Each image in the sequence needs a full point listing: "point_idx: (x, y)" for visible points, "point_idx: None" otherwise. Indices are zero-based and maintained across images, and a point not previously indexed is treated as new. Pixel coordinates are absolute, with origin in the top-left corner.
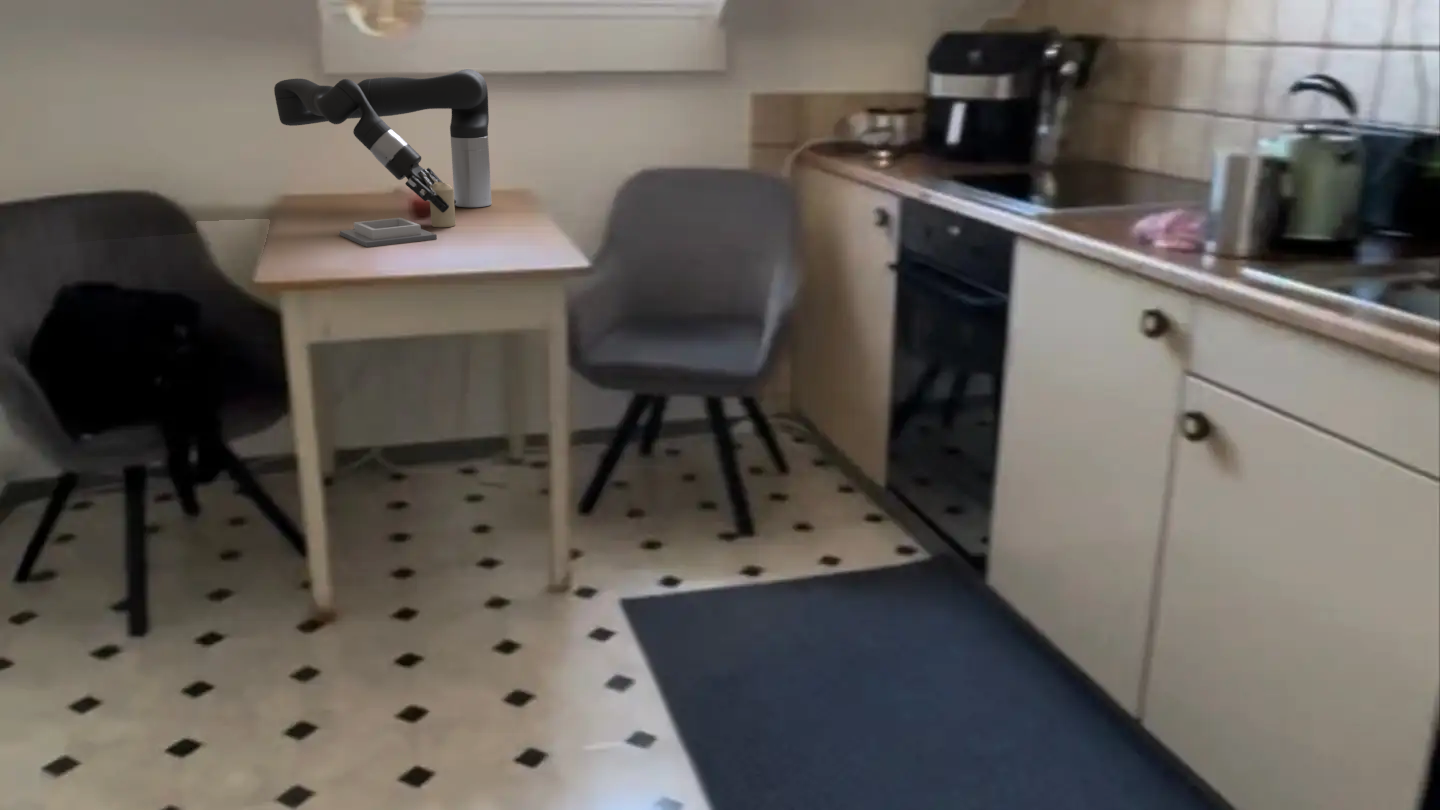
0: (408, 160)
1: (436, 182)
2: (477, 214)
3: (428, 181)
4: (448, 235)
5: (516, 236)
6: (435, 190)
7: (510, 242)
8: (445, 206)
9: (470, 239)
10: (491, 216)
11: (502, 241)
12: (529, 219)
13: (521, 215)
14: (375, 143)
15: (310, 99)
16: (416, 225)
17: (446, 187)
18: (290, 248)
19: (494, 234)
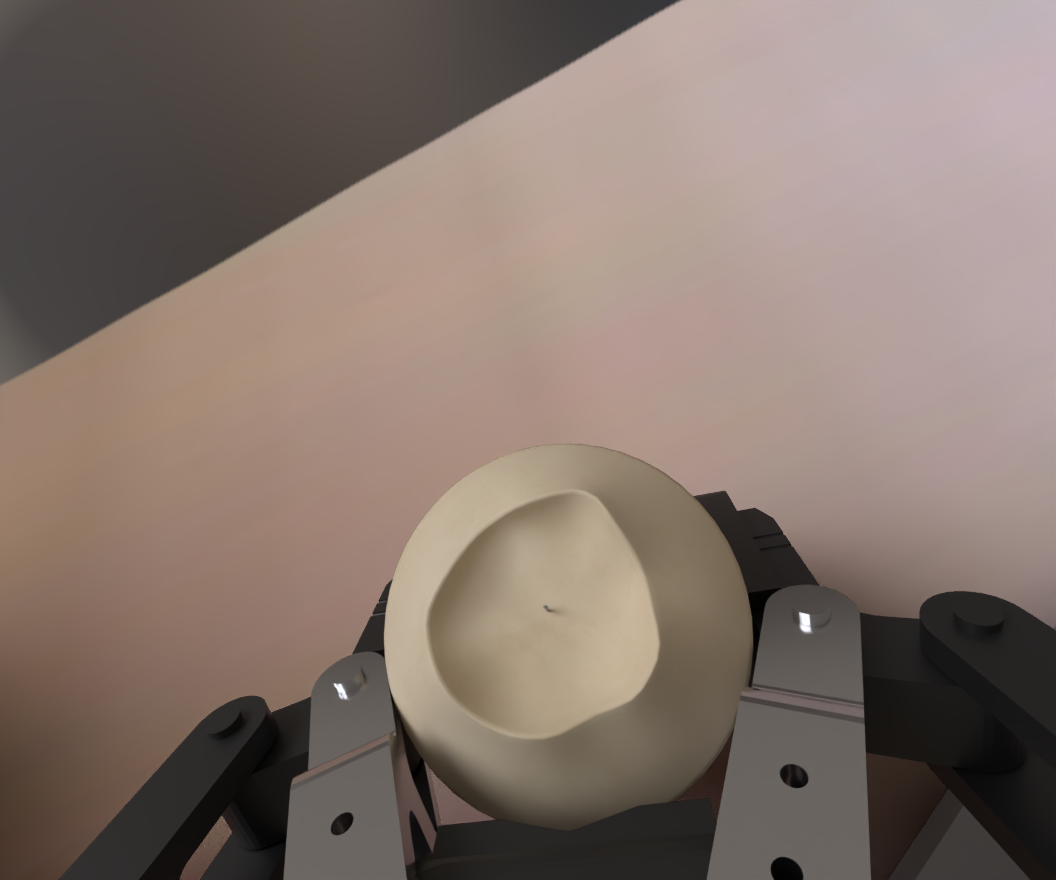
0: None
1: (487, 722)
2: (158, 587)
3: (822, 781)
4: (968, 431)
5: (785, 94)
6: (751, 629)
7: (965, 40)
8: (754, 510)
9: (1017, 240)
10: (227, 470)
11: (963, 79)
12: (308, 252)
13: (200, 334)
14: None
15: None
16: None
17: (631, 478)
18: None
19: (781, 202)
